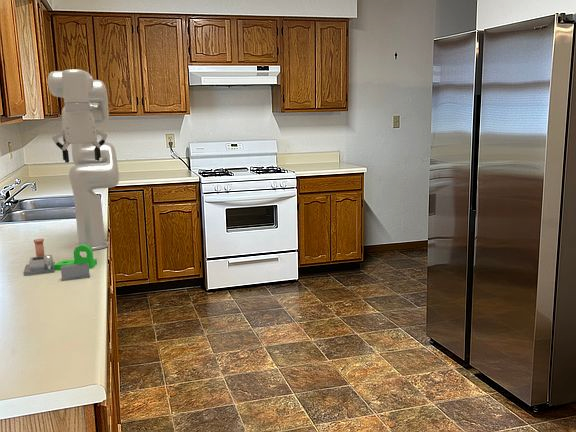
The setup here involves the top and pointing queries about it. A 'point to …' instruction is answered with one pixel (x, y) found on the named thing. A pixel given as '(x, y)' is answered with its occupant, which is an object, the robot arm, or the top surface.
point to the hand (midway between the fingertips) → (82, 161)
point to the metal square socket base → (39, 265)
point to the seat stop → (75, 271)
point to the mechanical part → (79, 258)
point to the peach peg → (39, 247)
